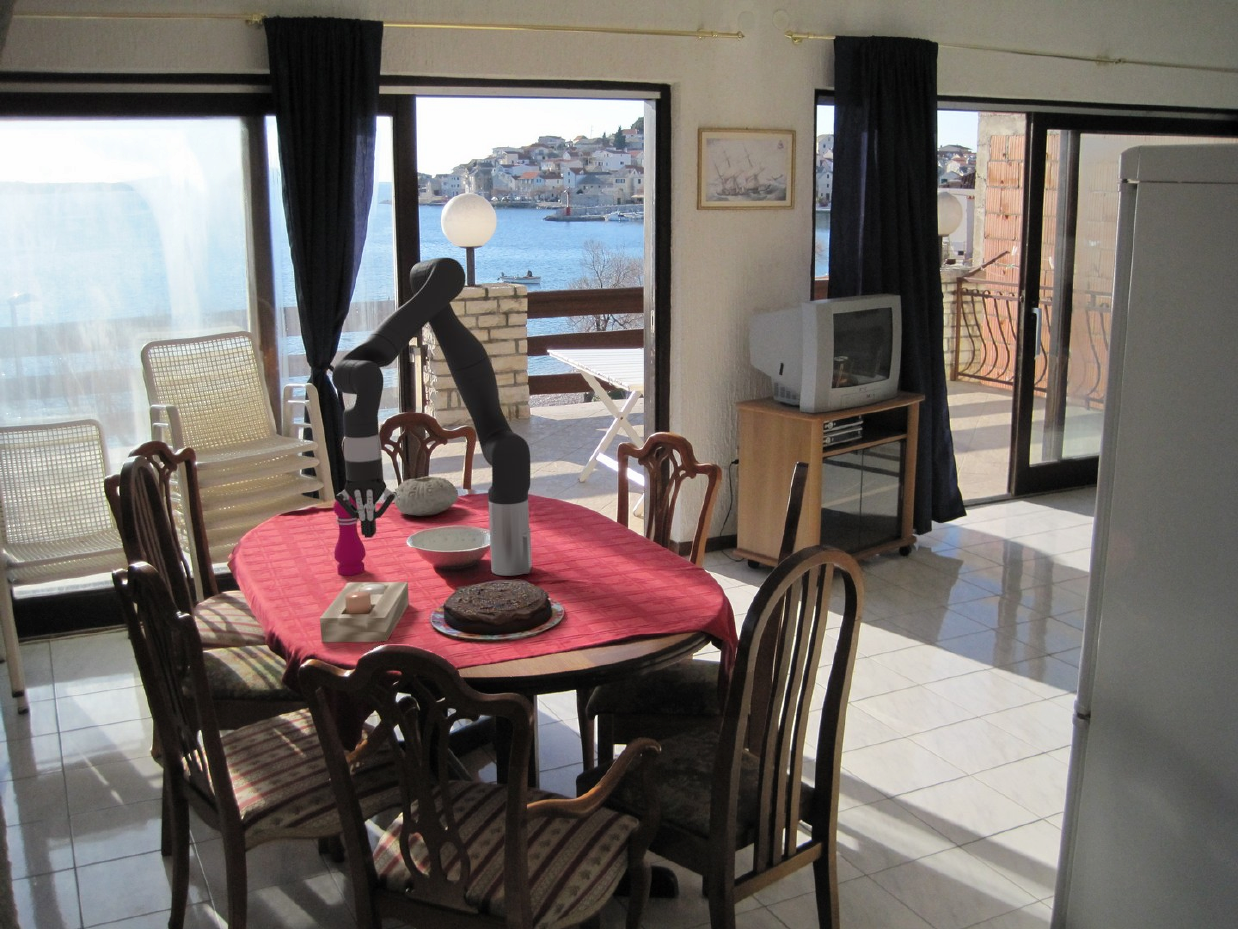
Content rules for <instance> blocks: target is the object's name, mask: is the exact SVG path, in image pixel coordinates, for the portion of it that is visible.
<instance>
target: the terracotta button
mask: <svg viewBox="0 0 1238 929" xmlns="http://www.w3.org/2000/svg"><path fill="white" fill-rule="evenodd" d="M345 605H346V613H347V614H367V613H369V612H371V599H370V593H369V592H365V591H356V592H351V593H348V594H346V595H345Z"/></svg>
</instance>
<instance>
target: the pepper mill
mask: <svg viewBox="0 0 1238 929" xmlns="http://www.w3.org/2000/svg"><path fill="white" fill-rule="evenodd" d="M344 490H345V489H343V490H342V491H344ZM348 496H349V495H348ZM349 500H350V502H351V503H352V504H353V505H354V506H355V507H356V508H357V503H355V502H354V501H353V499H352V498H351V497H350V496H349ZM333 512H334V514H335V515H337V516H336V518H335V519H336V524H338V532H339V534H338V538H337V542H336V545H335V547H334V554H333V557H334V559H335V561H337V563H338V564H337V565H336V566H337V567H336V568H337V574H338V575H341V576H344V577H345V576H357V575H360V574H362V573H364V572H365V562H363V560H364V559H365V557H366V548H365V545H364V544H363V542H362V540H361V538H360V535H359V533H358V526H357V525H358V523H359V521H360V520H359V519H357V518H352V517H351V516H350V515H349V514H348V513H347V512H346V510H345V509H344V508H343V507H342V506H341V505H340V504H339V503H338V501H337V500H336V499H335V501H334V503H333Z"/></svg>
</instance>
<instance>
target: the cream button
mask: <svg viewBox="0 0 1238 929" xmlns="http://www.w3.org/2000/svg"><path fill="white" fill-rule="evenodd" d="M360 591H365V592H369V593H370V594H384V592H385V590H384V586H383V585H380V584H370V585H365V586H363V587H361V588H360Z"/></svg>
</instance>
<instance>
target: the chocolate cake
mask: <svg viewBox="0 0 1238 929" xmlns="http://www.w3.org/2000/svg"><path fill="white" fill-rule="evenodd" d="M564 614H565V609H564V608H563V606H562V604H561V603H559V601H557V600H556V599H553V598H552V597H551V598H550V596H549V592H548V591H546V590H545V589H544V588H542V587H540V586H539V585H538V586H537V585H535V584H534V583H530V582H528V581H526V580H525V579H520V578H519V579H518V578H517V579H509V580H507V579H495V580H492V581H486V582H480V583H477V584H469V585H465V586H464V585H463V586H459V587H456V588H455V590H454V592H453V593H452V594H451V595H449V596H448V597H447V599H446V600H445V601H444V603H442V604H441V605H439V606H438V607H437V608H435V610H433V611H432V612H431V614H430V616H429V620H430V624H431V626H432V627H433V628H434V630H437V631H438V632H441V633H442V634H444V635H446V636H447V637H448V638H450V639H452V640H453V639H456V640H457V639H458V640H459V639H464V640H466V641H467V642H475V643H487V644H493V643H494V644H495V643H500V642H507V641H514V640H520V639H526V638H531V637H535V636H538V635H539V634H540V633H542V632H544V631H546V630H547V629H551V628H555V627H558V626H559V623H560V622H561V621H562V620H563V619H564V618H563V617H564Z"/></svg>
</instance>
